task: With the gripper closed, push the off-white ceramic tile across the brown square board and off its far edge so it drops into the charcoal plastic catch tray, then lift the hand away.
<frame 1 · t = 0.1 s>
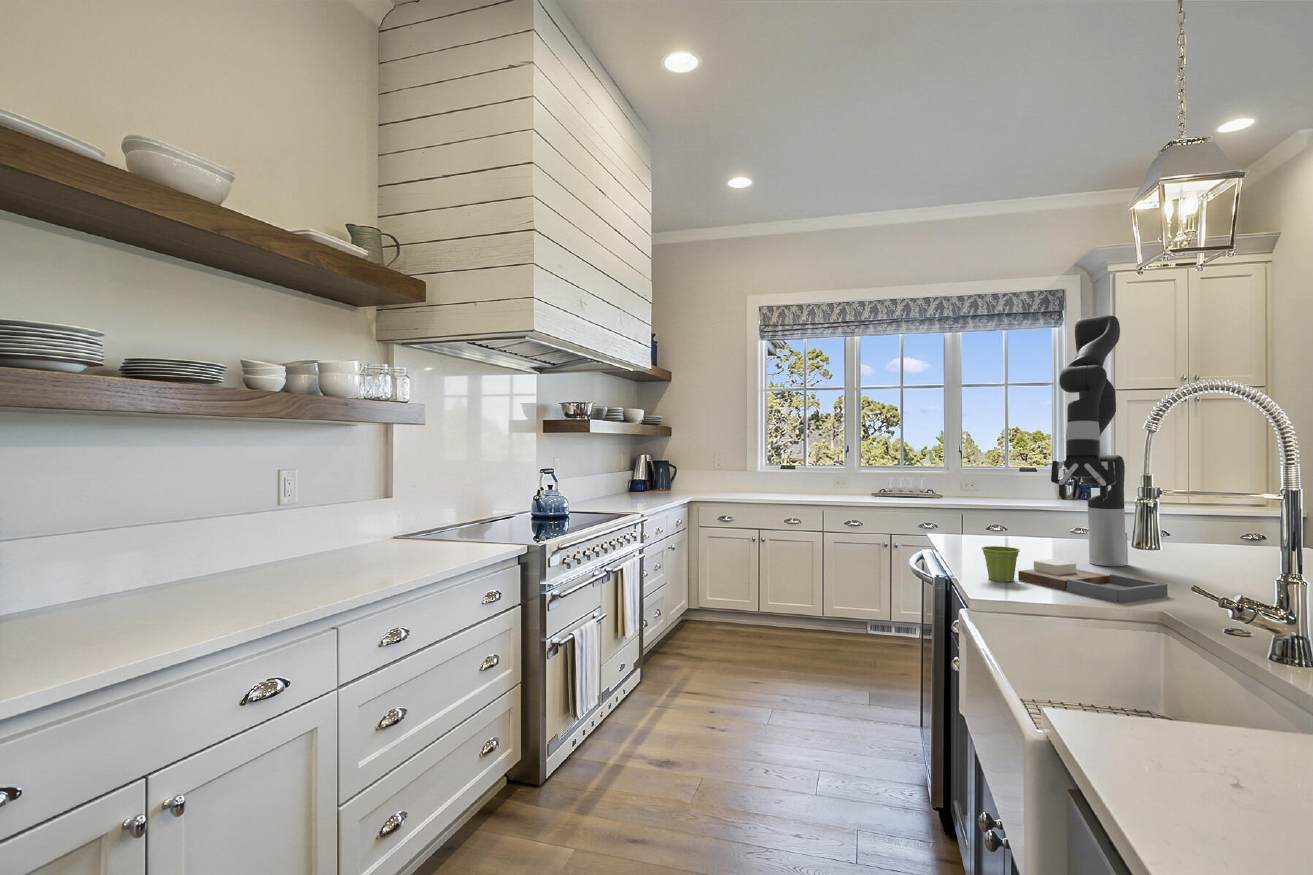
hand: (1082, 500, 171), 22 cm above the counter, tool pointing down, fingers open, 8 cm apart
plant pot: (1001, 580, 178), on the counter
tile: (1054, 571, 176), point 2 cm above the counter, touching brown square board
catch tray: (1115, 593, 160), on the counter
brown square board: (1063, 582, 174), on the counter
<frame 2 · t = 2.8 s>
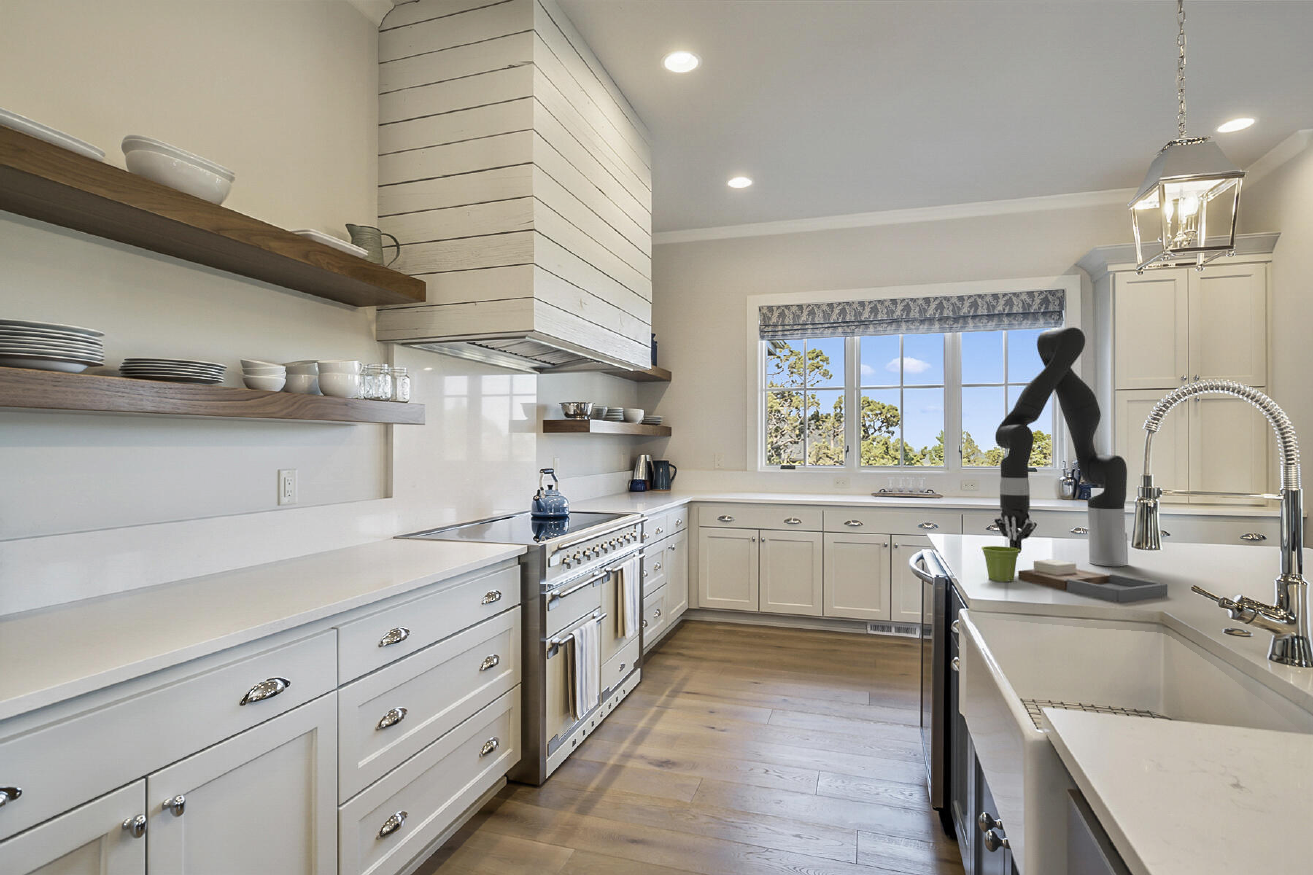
hand: (1015, 552, 188), 6 cm above the counter, tool pointing down, fingers closed
nothing on the counter moved.
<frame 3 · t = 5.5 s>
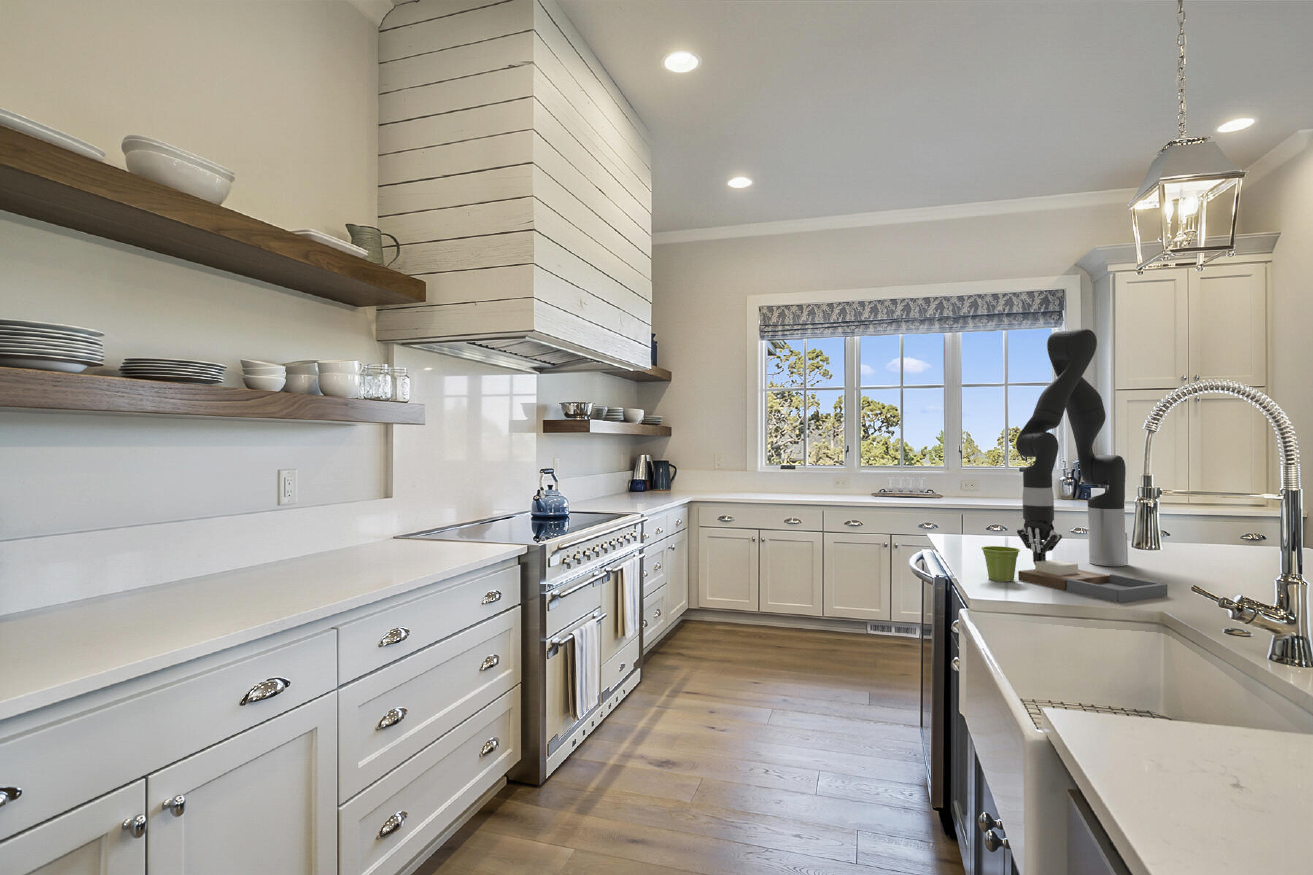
hand: (1039, 565, 180), 3 cm above the counter, tool pointing down, fingers closed
tile: (1056, 571, 175), point 2 cm above the counter, touching brown square board, gripper
everything else where it was.
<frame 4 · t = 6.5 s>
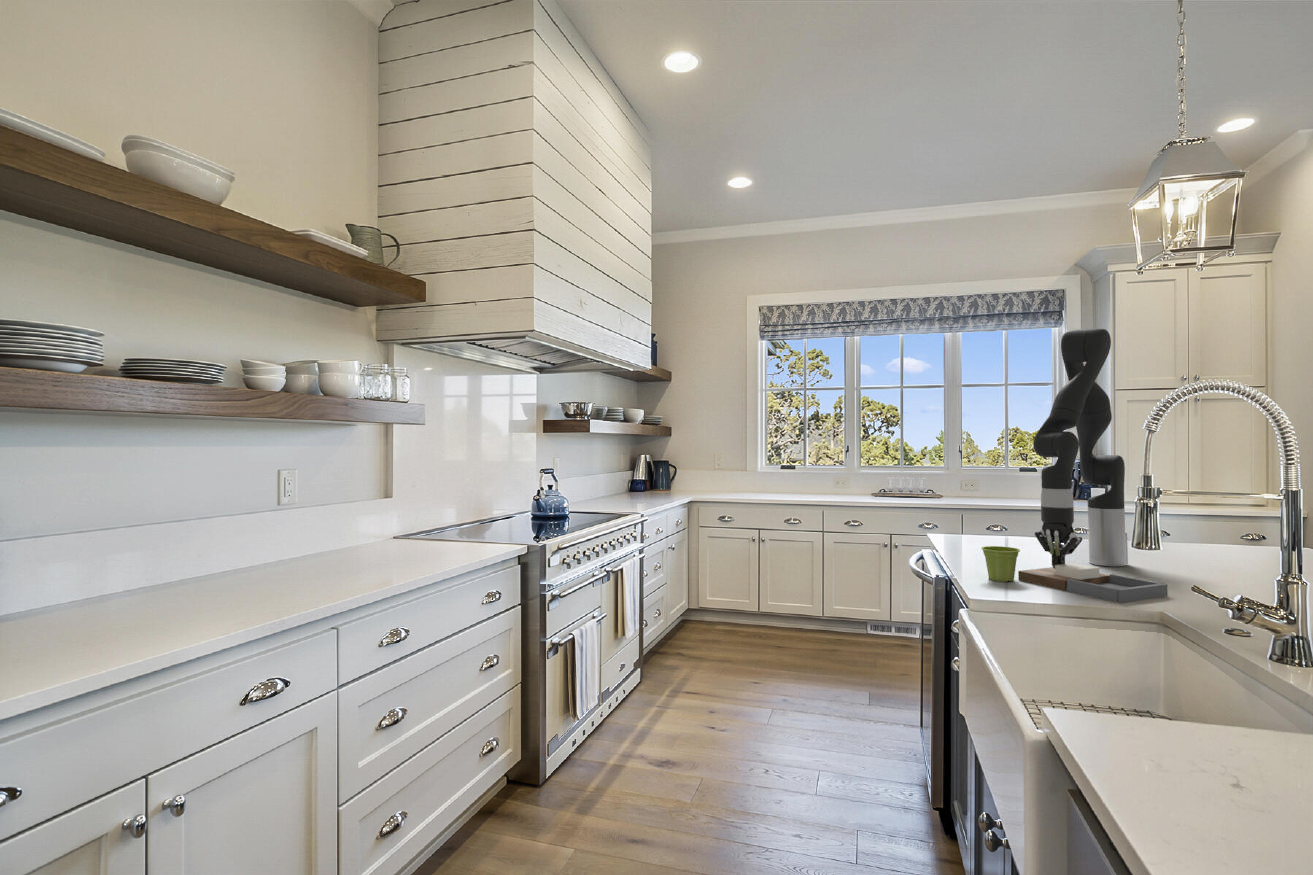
hand: (1058, 568, 175), 3 cm above the counter, tool pointing down, fingers closed
tile: (1077, 575, 170), point 3 cm above the counter, touching gripper
everything else where it was.
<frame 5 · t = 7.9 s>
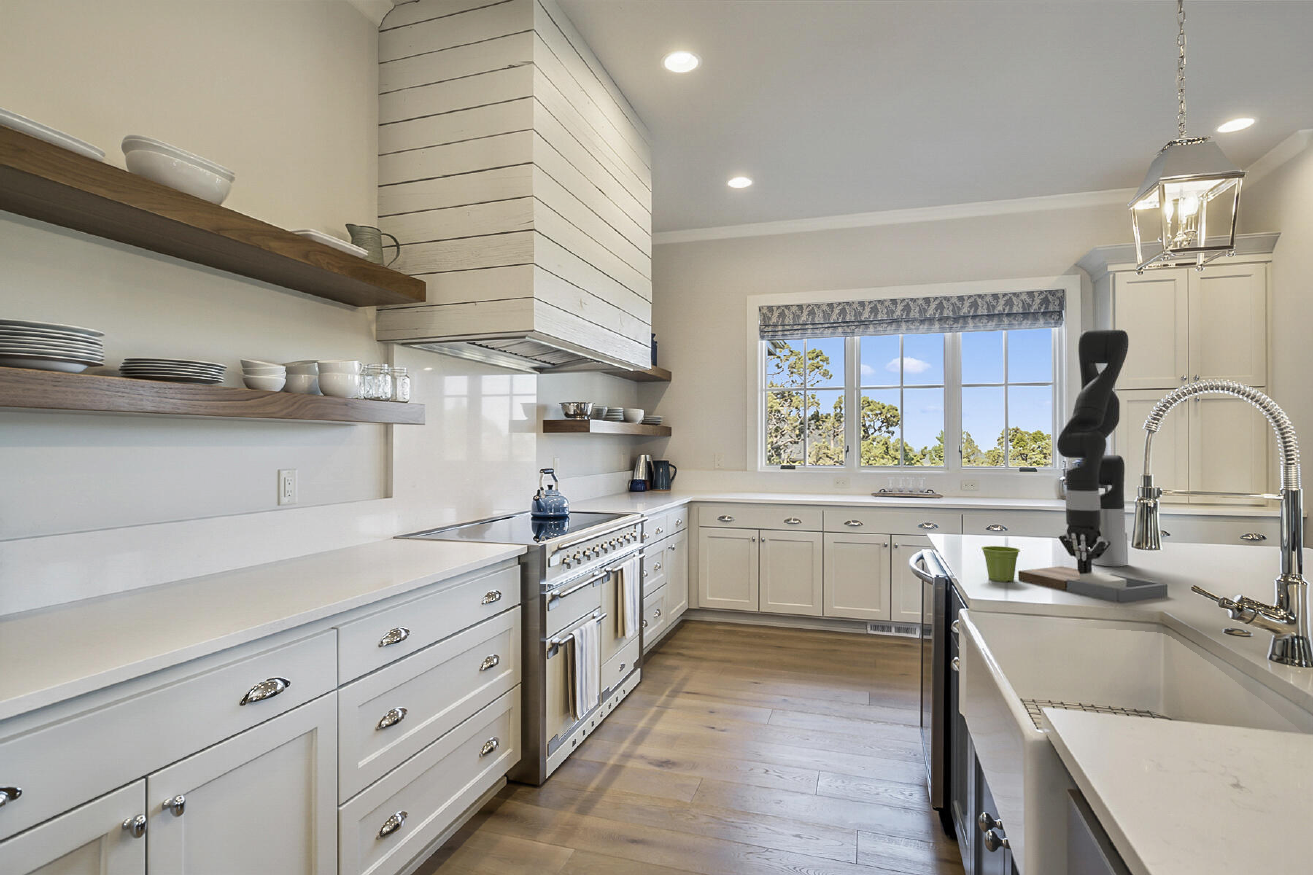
hand: (1084, 574, 168), 3 cm above the counter, tool pointing down, fingers closed
tile: (1102, 586, 163), point 1 cm above the counter
everything else where it was.
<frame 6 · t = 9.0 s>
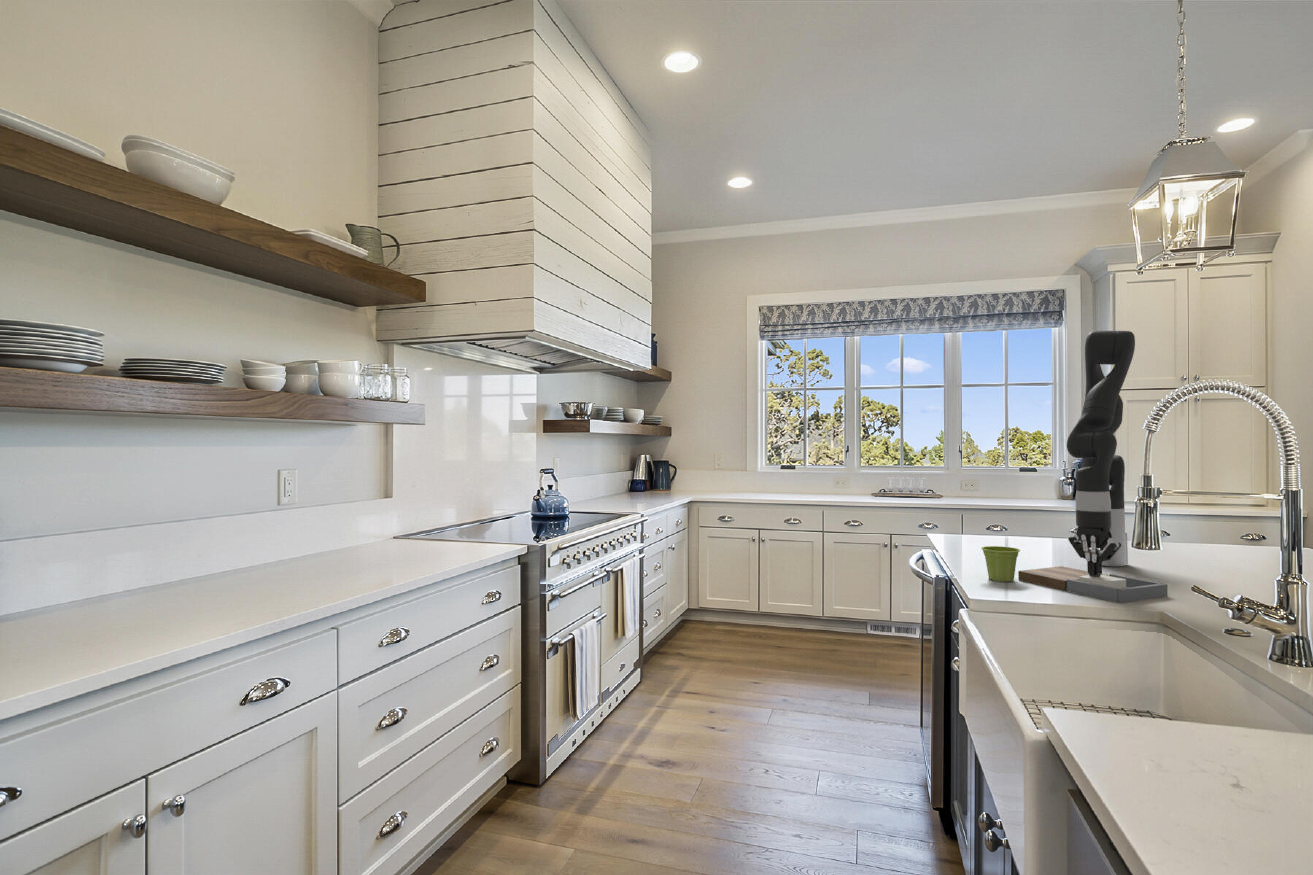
hand: (1094, 576, 165), 3 cm above the counter, tool pointing down, fingers closed
tile: (1102, 587, 163), point 1 cm above the counter, touching catch tray, gripper
everything else where it was.
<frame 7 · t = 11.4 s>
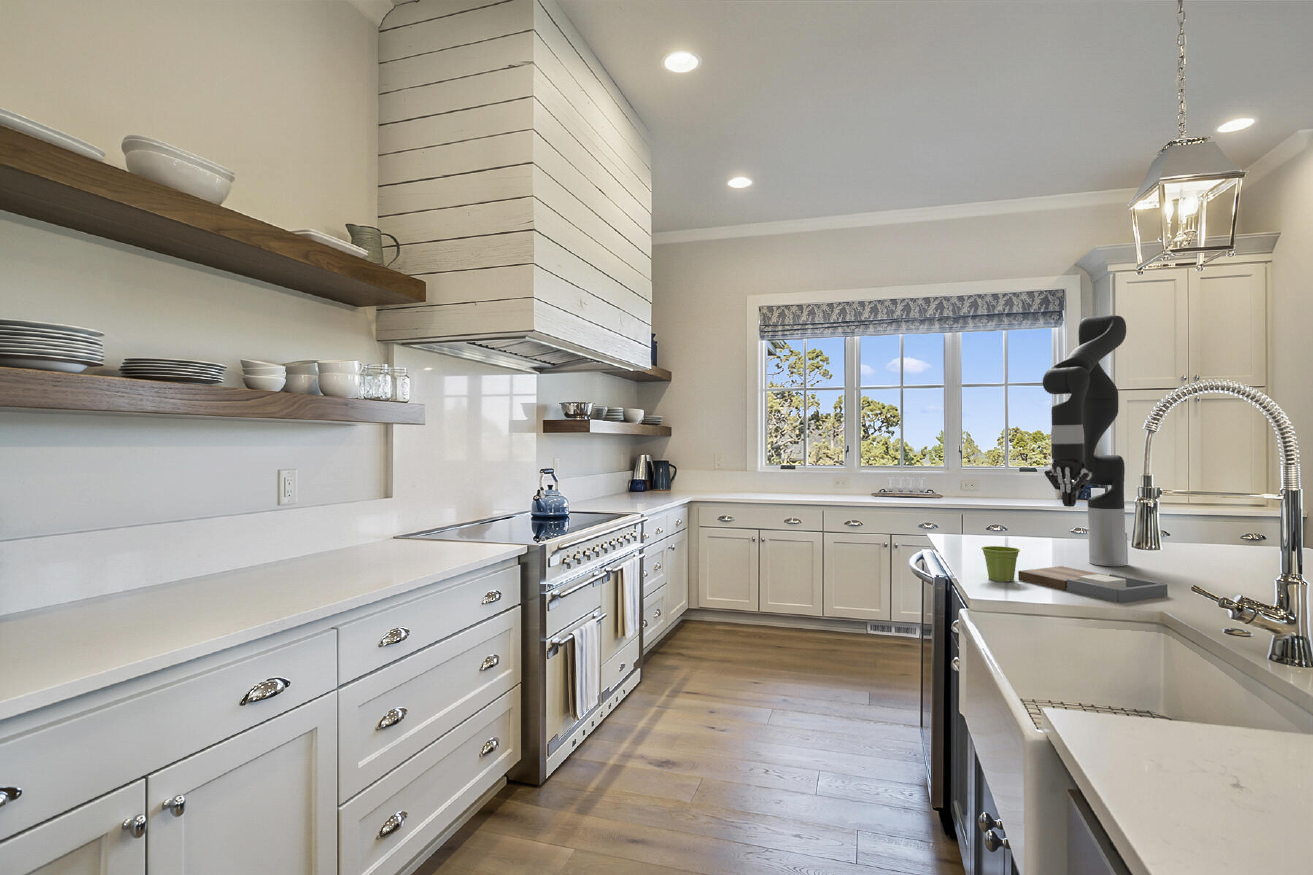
hand: (1069, 506, 174), 20 cm above the counter, tool pointing down, fingers closed
tile: (1102, 587, 163), point 1 cm above the counter, touching catch tray
everything else where it was.
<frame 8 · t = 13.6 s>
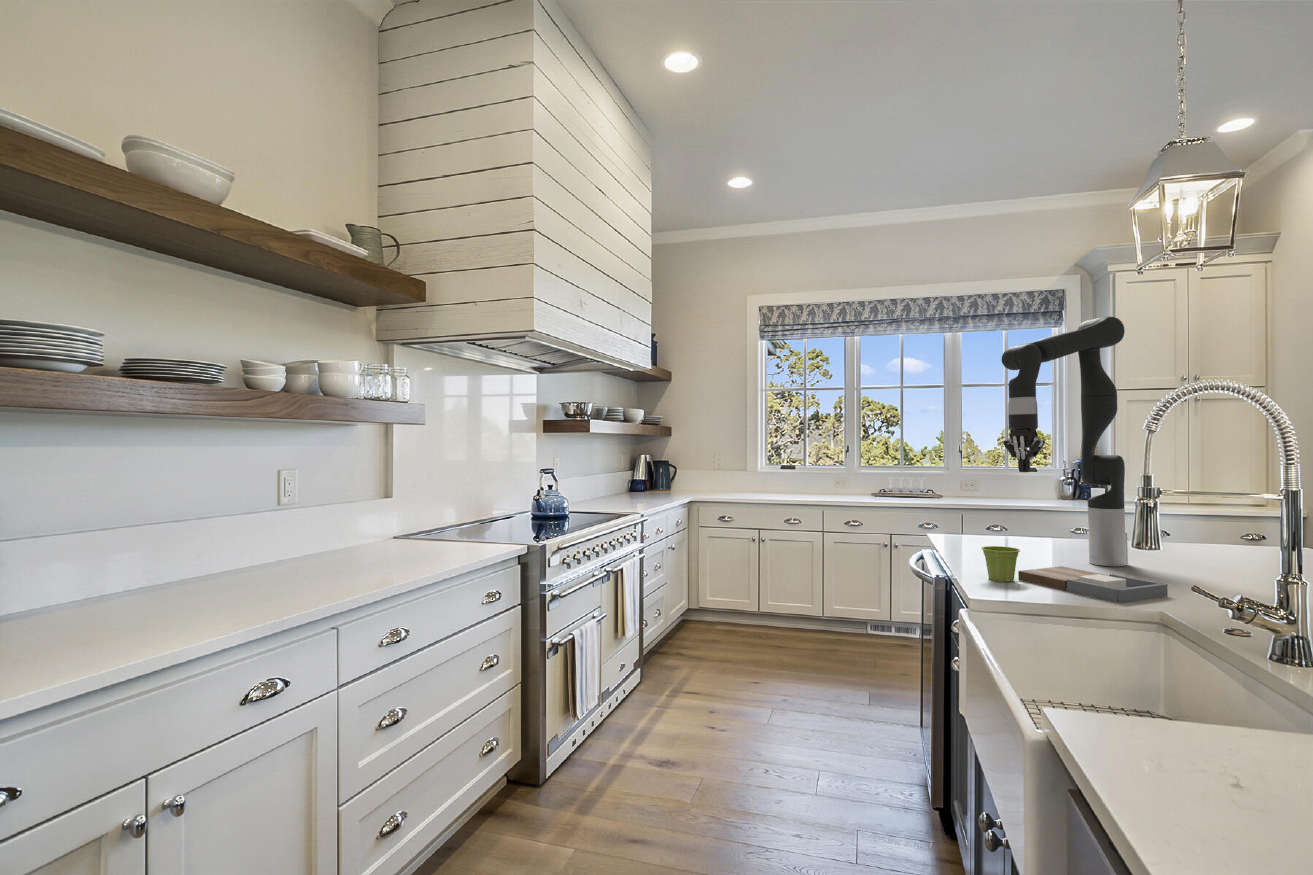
hand: (1024, 472, 189), 29 cm above the counter, tool pointing down, fingers closed
nothing on the counter moved.
at the end: tile inside the target area on the catch tray (3.7 cm from its centre), point 0.8 cm above the catch tray's base; the gripper is holding nothing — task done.
